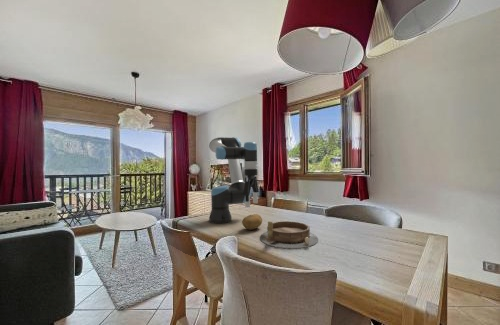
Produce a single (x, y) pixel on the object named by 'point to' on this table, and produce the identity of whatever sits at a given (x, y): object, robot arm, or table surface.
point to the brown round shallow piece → (287, 231)
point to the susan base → (292, 245)
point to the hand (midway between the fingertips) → (251, 205)
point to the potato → (252, 221)
